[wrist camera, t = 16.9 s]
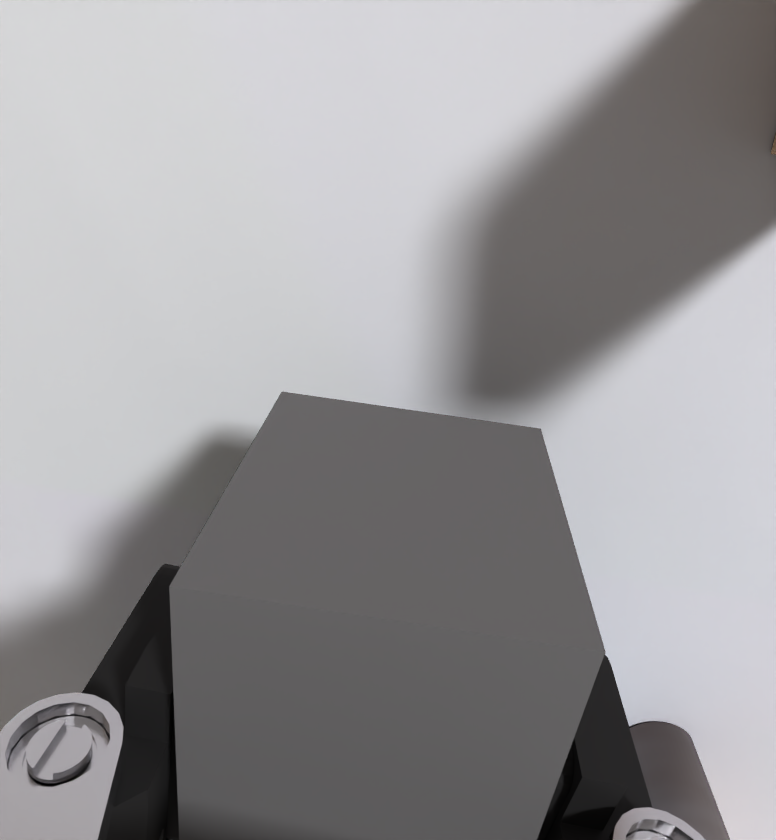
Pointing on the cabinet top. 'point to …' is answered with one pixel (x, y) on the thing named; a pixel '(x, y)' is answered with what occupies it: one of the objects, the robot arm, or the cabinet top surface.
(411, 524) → the charcoal brick
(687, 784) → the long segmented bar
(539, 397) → the cabinet top surface
